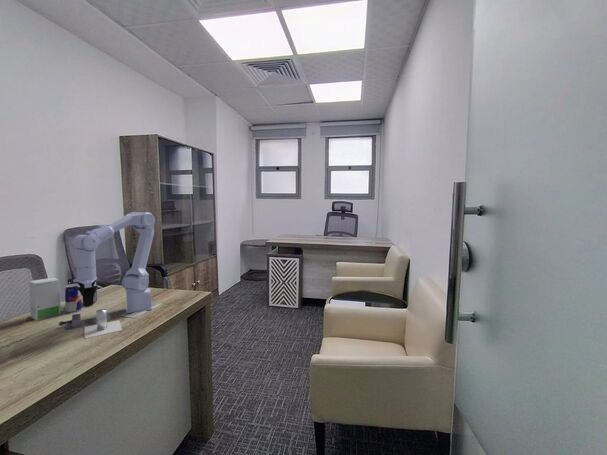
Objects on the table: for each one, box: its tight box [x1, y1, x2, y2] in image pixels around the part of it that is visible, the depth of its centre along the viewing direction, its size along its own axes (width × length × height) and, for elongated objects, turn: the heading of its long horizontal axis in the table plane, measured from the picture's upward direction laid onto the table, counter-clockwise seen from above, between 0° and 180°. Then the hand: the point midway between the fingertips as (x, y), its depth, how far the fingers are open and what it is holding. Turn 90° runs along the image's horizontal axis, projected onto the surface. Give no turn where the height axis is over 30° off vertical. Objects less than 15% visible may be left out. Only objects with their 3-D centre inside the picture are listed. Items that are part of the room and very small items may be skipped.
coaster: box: [84, 319, 123, 340], centre depth 105 cm, size 11×11×1 cm
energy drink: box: [64, 283, 83, 314], centre depth 122 cm, size 5×5×12 cm
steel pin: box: [95, 308, 108, 331], centre depth 105 cm, size 3×3×7 cm
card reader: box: [82, 281, 98, 308], centre depth 132 cm, size 9×4×15 cm, turn 23°
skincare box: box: [28, 277, 62, 321], centre depth 117 cm, size 8×7×16 cm
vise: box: [58, 313, 112, 331], centre depth 111 cm, size 16×7×4 cm, turn 128°
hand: (88, 301), depth 106 cm, fingers open, 7 cm apart
